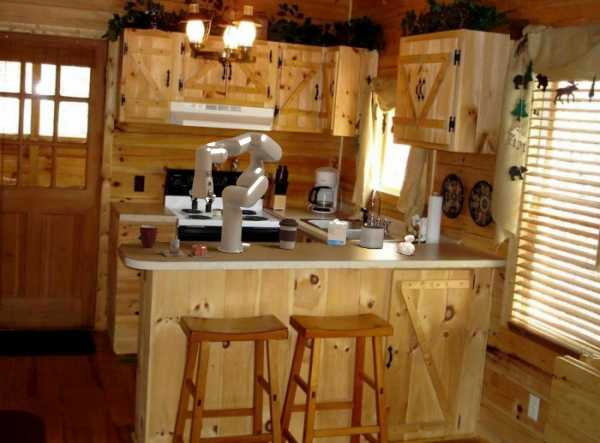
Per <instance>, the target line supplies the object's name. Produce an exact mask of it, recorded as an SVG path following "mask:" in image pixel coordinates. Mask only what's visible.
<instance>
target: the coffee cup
mask: <svg viewBox="0 0 600 443" xmlns="http://www.w3.org/2000/svg"><path fill="white" fill-rule="evenodd" d="M278 225H279V248H280V249H283V250H294V249H295V244H296V240H297V233H298V230H297V229H298V227H299V222H297V220H296V219H294V218H282V219H281V220H280V221H279V222H278Z"/></svg>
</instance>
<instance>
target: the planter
mask: <svg viewBox="0 0 600 443" xmlns="http://www.w3.org/2000/svg"><path fill="white" fill-rule="evenodd" d="M360 228H361V229H360V237H359V238H360V240H359V246H360V247H361V248H365V249H369V250H370V249H371V250H381V249H382V248H383V247H384V239H385V238H384V236H385V227H384V226H380V225H370V224H368V225H367V224H365V225H363V224H362V225H361V227H360Z"/></svg>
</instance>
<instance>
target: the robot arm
mask: <svg viewBox="0 0 600 443" xmlns="http://www.w3.org/2000/svg"><path fill="white" fill-rule="evenodd" d="M248 152H250V153H249V154H250V160H249V161H250V163H249V165H248V166H247V168H245V170H244V171H243V172H242V174H240V176H239V177H238V179H237V180H236V185H227V186H226V187H224V189H223V190H222V192H221V201H222V202H221V203H222V225H221V237H220V238H221V240H220V242H221V243H220V246H218V247H217V251H218V252H221V253H231V254H238V253H239V254H240V252H241V253H243V252H244V248H251V243H246V242H243V241H242V230H243V218H244V216H243V210H242V208H245V209H249V208H252V207H254V206H255V205H256V204H257V203H258V201H259V200H261V198H262V197H263V196H264V195H265V193H266V192H267V190H268V188H269V179H268V178H267V176H266V175H265V165H264V162H271V163H272V162H273V163H276V162H279V161H280V159H282V156H283V150H282V148H281V146H280V145H279V144H278V143H277V142H276V141H275V140H273V139H272V138H271V137H270V136H269V135H268V134H266V133H264V132H254V131H253V132H252V131H248V132H245V133H243V134H240V135H237V136H234V137H232V138H226V139H222V140H221V139H219V140H216V141H211V142H209V143H206V144H204V145H202V146H197V147H196V149H195V159H194V161H195V162H194V164H195V165H194V177H193V181H192V188H191V189H190V190H189V191H188V193H189V198H190V201H191V210H192V211H196V210H198V209H199V208H198V206H199V204H198V203H199V201H198V199H199V200H204V202H205V210H204V213H206V214H209V213H212V208H213V207H212V205H213V204H214V202H215V199H216V196H217V195H216V194H215V193H214V182H213V177H212V175H213V174H212V168H213V163H214V164H222V163H225V162H226V161H227V159H228V157H234V156H235V157H236V156H240V155H242V154H244V153H248Z"/></svg>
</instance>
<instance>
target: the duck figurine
mask: <svg viewBox="0 0 600 443" xmlns="http://www.w3.org/2000/svg"><path fill="white" fill-rule="evenodd" d="M404 240H405V241H403V242H400V243H399V244H398V246H397V252H398V253H399V254H400V253H401V254H400V255H404V254H406V255H405V256H411V255H413V254H414V251H415V250H416V248H415V245H414V244H412V242H414V241H415V236H414V235H413V234H408V235H405V237H404Z"/></svg>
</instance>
